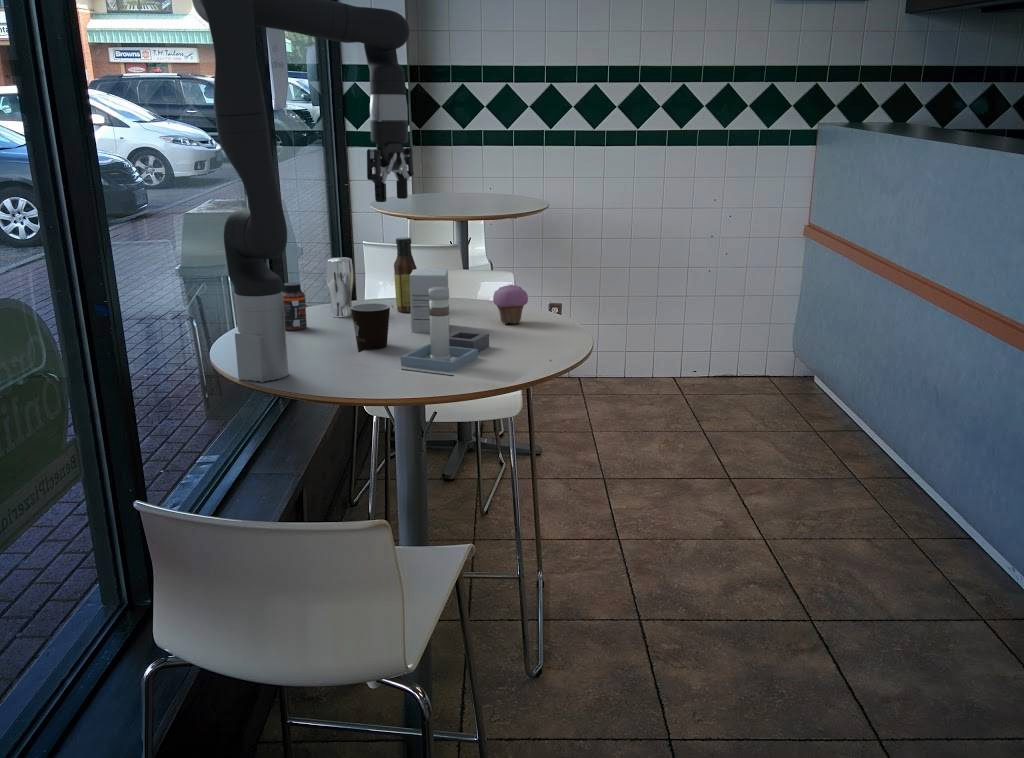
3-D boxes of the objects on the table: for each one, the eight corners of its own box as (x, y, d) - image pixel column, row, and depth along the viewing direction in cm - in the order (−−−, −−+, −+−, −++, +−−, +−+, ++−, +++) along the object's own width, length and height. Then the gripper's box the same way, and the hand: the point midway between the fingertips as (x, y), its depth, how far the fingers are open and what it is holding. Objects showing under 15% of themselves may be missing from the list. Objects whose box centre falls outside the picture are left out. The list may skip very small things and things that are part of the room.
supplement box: (414, 328, 223) (412, 268, 219) (449, 328, 223) (448, 268, 219) (410, 336, 214) (408, 274, 210) (447, 336, 214) (446, 274, 210)
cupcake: (526, 319, 233) (527, 281, 230) (528, 327, 224) (528, 287, 222) (492, 320, 232) (492, 282, 230) (493, 327, 224) (493, 288, 221)
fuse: (444, 366, 186) (442, 291, 181) (426, 364, 187) (424, 289, 183) (453, 362, 189) (452, 287, 185) (436, 360, 191) (434, 286, 186)
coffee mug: (390, 355, 197) (388, 310, 195) (351, 355, 197) (348, 311, 194) (393, 342, 208) (391, 300, 206) (356, 343, 208) (354, 300, 205)
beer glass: (329, 312, 241) (326, 257, 237) (355, 312, 241) (353, 257, 237) (327, 318, 234) (324, 261, 230) (354, 317, 235) (351, 261, 231)
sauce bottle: (423, 309, 245) (421, 237, 239) (412, 314, 239) (409, 239, 234) (403, 307, 247) (400, 235, 242) (391, 312, 242) (388, 238, 236)
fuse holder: (478, 359, 193) (478, 341, 192) (436, 354, 197) (435, 337, 196) (494, 351, 201) (493, 334, 199) (452, 346, 205) (452, 329, 203)
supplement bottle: (303, 331, 220) (300, 285, 216) (279, 331, 220) (276, 285, 217) (309, 325, 225) (306, 281, 222) (286, 325, 225) (283, 281, 222)
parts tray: (452, 376, 181) (452, 362, 180) (401, 370, 185) (400, 356, 185) (478, 362, 191) (477, 349, 191) (428, 356, 196) (428, 343, 195)
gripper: (391, 118, 187) (393, 197, 192) (353, 118, 175) (357, 202, 179) (422, 118, 184) (424, 198, 189) (386, 118, 172) (389, 203, 176)
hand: (391, 200), depth 184 cm, fingers open, 8 cm apart
